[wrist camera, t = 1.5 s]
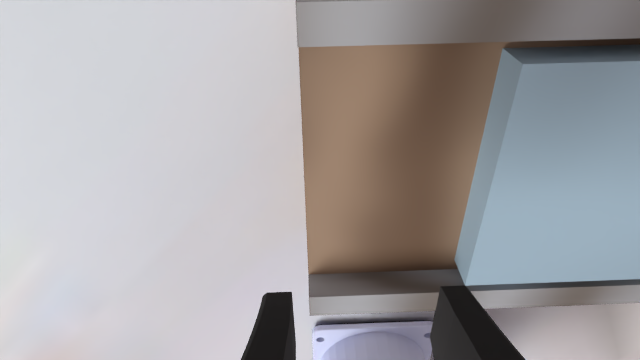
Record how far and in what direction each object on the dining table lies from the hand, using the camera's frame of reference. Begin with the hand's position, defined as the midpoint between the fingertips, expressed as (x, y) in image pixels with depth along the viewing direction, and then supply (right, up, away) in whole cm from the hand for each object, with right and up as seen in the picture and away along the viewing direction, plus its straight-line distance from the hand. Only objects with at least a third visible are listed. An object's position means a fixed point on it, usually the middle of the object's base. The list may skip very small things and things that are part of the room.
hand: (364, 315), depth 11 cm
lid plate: (+10, +4, +5) cm, 12 cm away
